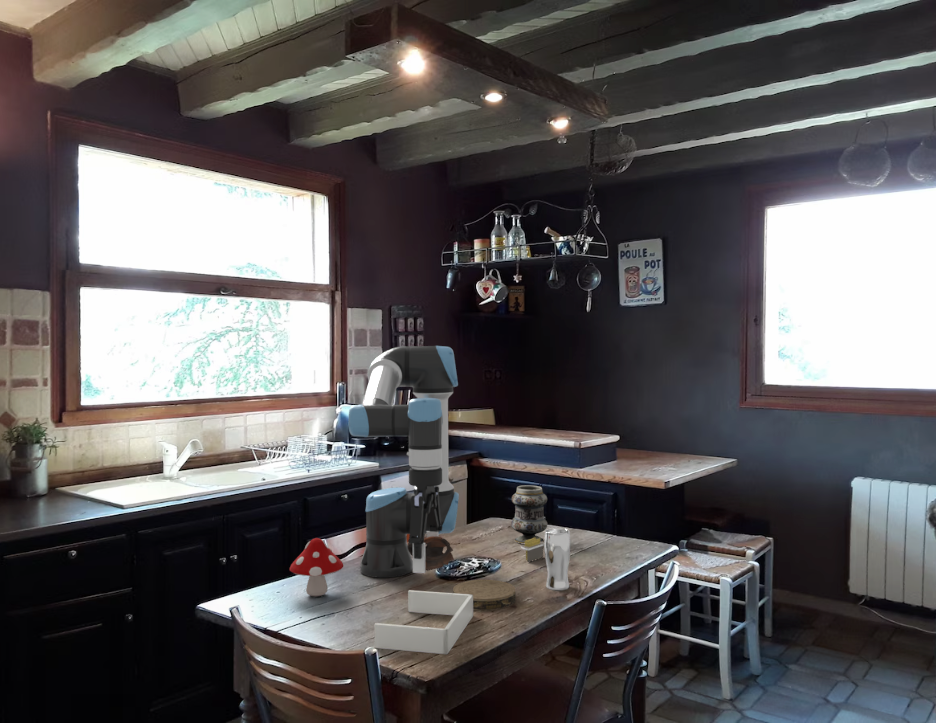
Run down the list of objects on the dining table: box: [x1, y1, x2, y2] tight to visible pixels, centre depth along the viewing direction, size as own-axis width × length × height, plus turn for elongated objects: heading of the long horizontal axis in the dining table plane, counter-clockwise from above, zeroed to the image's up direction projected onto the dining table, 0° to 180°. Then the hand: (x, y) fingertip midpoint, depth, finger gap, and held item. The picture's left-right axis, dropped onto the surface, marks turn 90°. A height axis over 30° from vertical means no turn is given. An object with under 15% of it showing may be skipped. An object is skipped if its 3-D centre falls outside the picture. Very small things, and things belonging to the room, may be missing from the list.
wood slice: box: [452, 579, 516, 611], centre depth 190 cm, size 16×16×3 cm
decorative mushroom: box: [289, 537, 344, 597], centre depth 194 cm, size 14×14×15 cm
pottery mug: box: [407, 536, 455, 575], centre depth 168 cm, size 12×10×8 cm
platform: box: [520, 537, 544, 563], centre depth 226 cm, size 12×18×7 cm, turn 139°
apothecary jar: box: [510, 484, 548, 544], centre depth 249 cm, size 12×12×18 cm
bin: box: [374, 589, 474, 655], centre depth 168 cm, size 24×16×5 cm
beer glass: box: [543, 527, 571, 591], centre depth 199 cm, size 7×7×15 cm
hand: (426, 565), depth 168 cm, fingers closed on pottery mug, 10 cm apart
